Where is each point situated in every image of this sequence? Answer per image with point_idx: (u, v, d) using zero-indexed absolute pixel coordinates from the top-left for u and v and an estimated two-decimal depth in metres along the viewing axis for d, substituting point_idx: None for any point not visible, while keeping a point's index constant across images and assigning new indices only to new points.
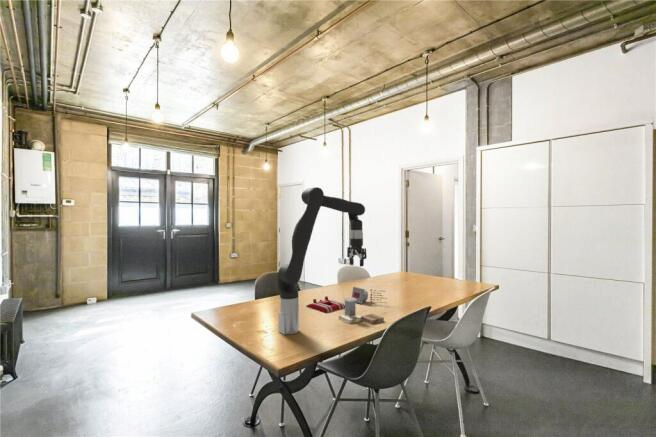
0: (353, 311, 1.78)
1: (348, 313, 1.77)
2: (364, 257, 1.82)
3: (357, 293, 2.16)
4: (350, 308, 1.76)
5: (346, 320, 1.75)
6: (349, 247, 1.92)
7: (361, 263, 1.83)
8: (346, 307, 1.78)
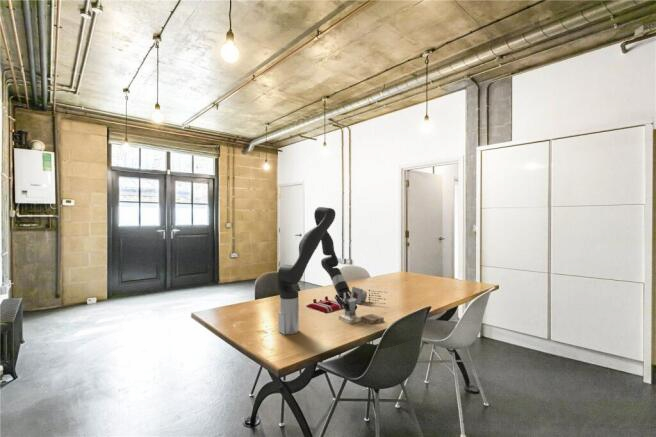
0: (353, 311, 1.78)
1: (348, 313, 1.77)
2: (356, 300, 1.83)
3: (356, 293, 2.16)
4: (350, 308, 1.76)
5: (346, 320, 1.75)
6: (336, 295, 1.80)
7: (356, 305, 1.80)
8: None
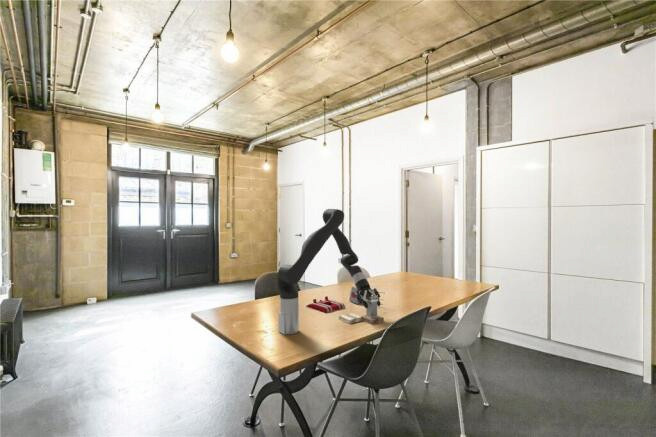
0: (375, 312, 1.76)
1: (370, 313, 1.76)
2: None
3: (354, 293, 2.16)
4: (372, 308, 1.75)
5: (346, 320, 1.75)
6: None
7: (379, 301, 1.80)
8: (368, 307, 1.77)
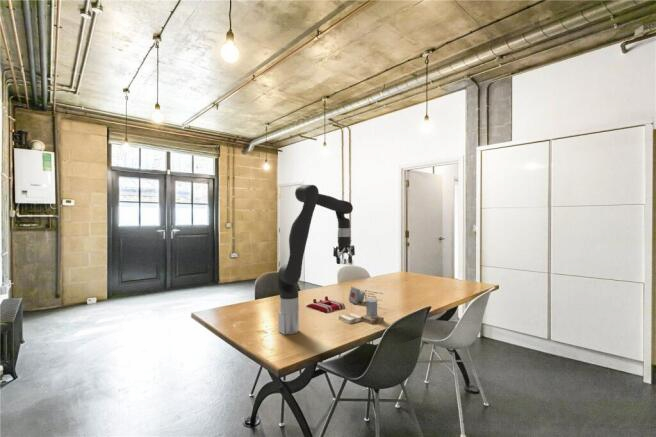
0: (375, 312, 1.76)
1: (370, 313, 1.76)
2: None
3: (353, 293, 2.16)
4: (372, 308, 1.75)
5: (346, 320, 1.75)
6: (336, 246, 1.86)
7: (351, 259, 1.92)
8: (368, 307, 1.77)
